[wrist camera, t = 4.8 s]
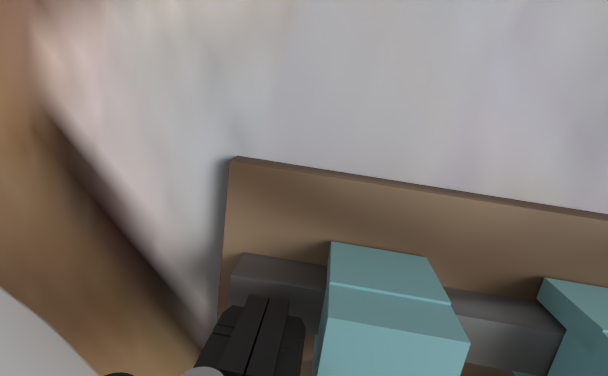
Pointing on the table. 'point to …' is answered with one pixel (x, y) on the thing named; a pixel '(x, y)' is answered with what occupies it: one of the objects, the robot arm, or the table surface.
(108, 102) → the table surface
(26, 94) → the table surface
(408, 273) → the sliding leg
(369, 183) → the board
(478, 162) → the table surface
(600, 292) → the fixed leg
